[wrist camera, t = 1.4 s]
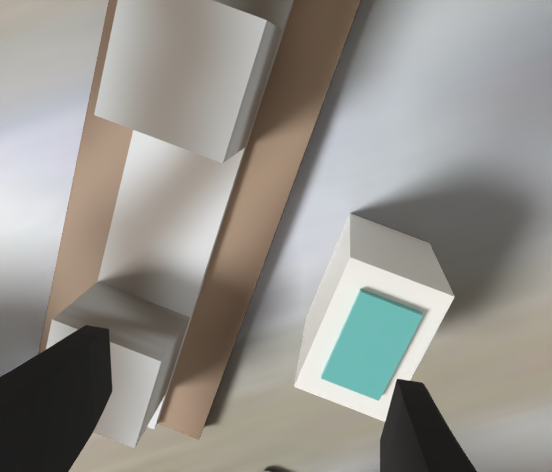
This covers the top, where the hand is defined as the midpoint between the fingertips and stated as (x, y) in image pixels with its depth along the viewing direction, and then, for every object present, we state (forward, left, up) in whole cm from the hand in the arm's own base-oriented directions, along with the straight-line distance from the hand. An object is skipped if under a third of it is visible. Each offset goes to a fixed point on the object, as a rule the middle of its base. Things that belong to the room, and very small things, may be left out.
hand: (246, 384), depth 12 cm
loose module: (-4, +1, -13) cm, 13 cm away
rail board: (+6, +1, -13) cm, 14 cm away
